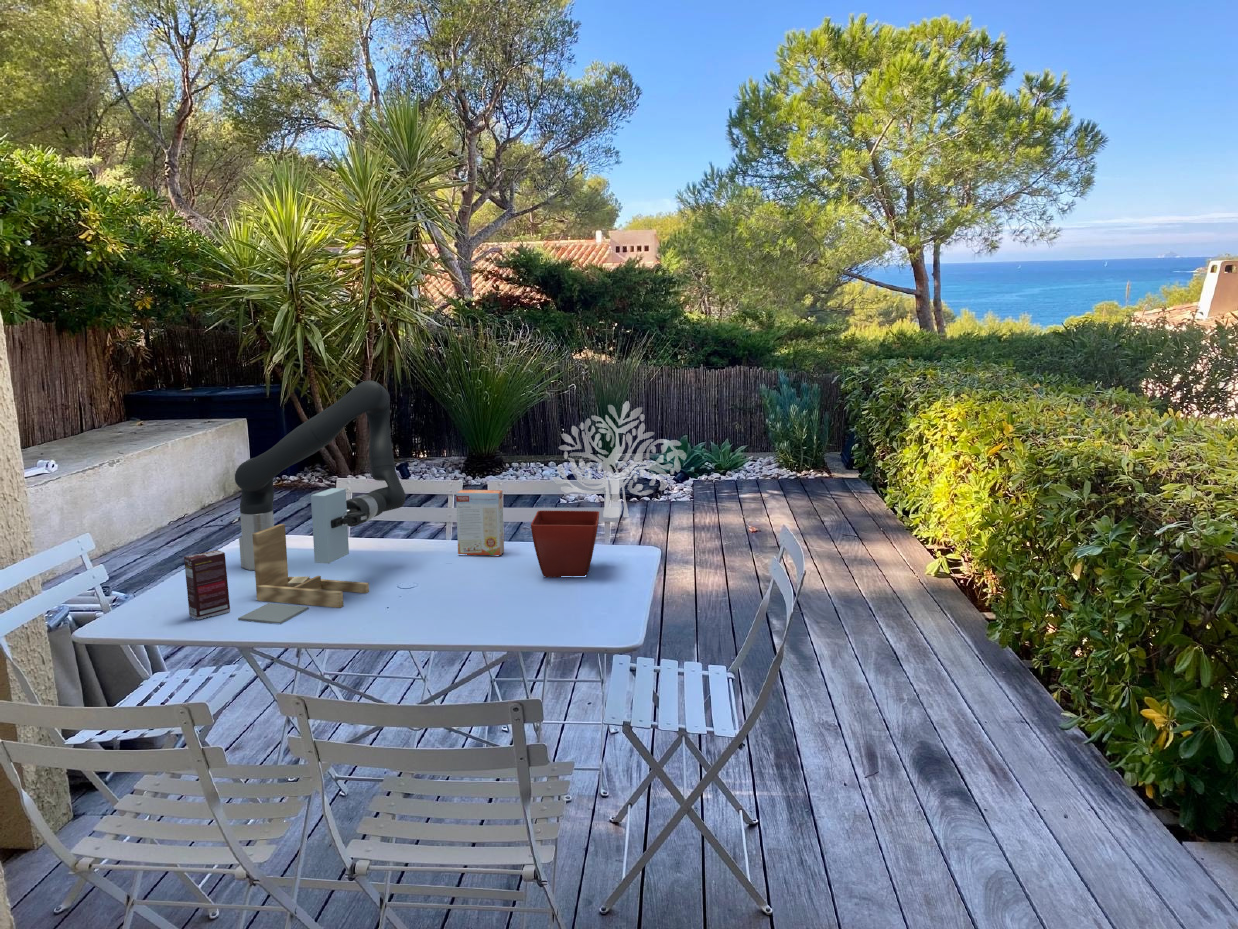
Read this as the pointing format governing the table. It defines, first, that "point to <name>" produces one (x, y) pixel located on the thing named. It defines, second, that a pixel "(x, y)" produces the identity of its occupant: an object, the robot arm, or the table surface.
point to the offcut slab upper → (298, 581)
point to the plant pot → (564, 541)
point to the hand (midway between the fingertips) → (324, 523)
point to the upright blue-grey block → (329, 525)
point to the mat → (273, 613)
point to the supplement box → (207, 584)
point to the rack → (275, 577)
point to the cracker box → (480, 522)
